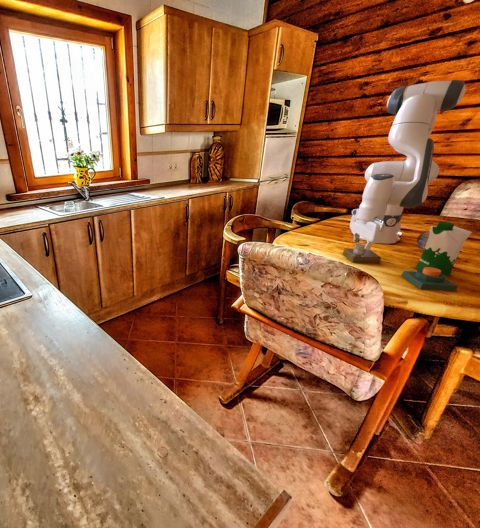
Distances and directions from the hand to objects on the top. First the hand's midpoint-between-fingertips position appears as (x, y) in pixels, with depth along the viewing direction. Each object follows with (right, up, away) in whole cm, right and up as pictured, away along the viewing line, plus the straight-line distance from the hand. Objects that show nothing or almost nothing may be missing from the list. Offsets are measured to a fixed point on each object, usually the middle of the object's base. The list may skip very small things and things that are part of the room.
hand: (361, 245), depth 121 cm
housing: (+9, -15, -18) cm, 26 cm away
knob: (0, -3, +2) cm, 4 cm away
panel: (+3, -6, +4) cm, 7 cm away
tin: (+40, -2, +8) cm, 41 cm away
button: (+9, -12, -20) cm, 25 cm away
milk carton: (+19, -11, -11) cm, 25 cm away
